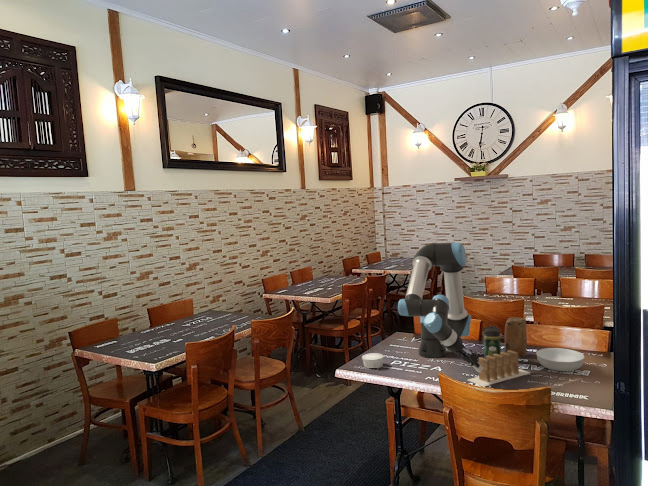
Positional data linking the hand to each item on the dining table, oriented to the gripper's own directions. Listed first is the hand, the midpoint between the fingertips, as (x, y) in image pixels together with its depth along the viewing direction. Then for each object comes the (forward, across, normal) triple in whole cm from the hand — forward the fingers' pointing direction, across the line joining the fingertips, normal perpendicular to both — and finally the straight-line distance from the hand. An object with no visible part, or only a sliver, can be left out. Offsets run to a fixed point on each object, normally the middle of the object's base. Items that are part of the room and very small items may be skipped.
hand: (480, 369), depth 217 cm
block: (+35, -19, +26) cm, 47 cm away
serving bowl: (+36, +6, +27) cm, 46 cm away
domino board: (+13, 0, +4) cm, 13 cm away
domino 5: (+18, 0, +11) cm, 21 cm away
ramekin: (-14, -48, -24) cm, 56 cm away
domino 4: (+15, 0, +7) cm, 17 cm away
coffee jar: (+22, -17, +12) cm, 30 cm away
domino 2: (+9, 0, +1) cm, 9 cm away
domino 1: (+6, 0, -2) cm, 6 cm away
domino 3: (+12, 0, +4) cm, 13 cm away
